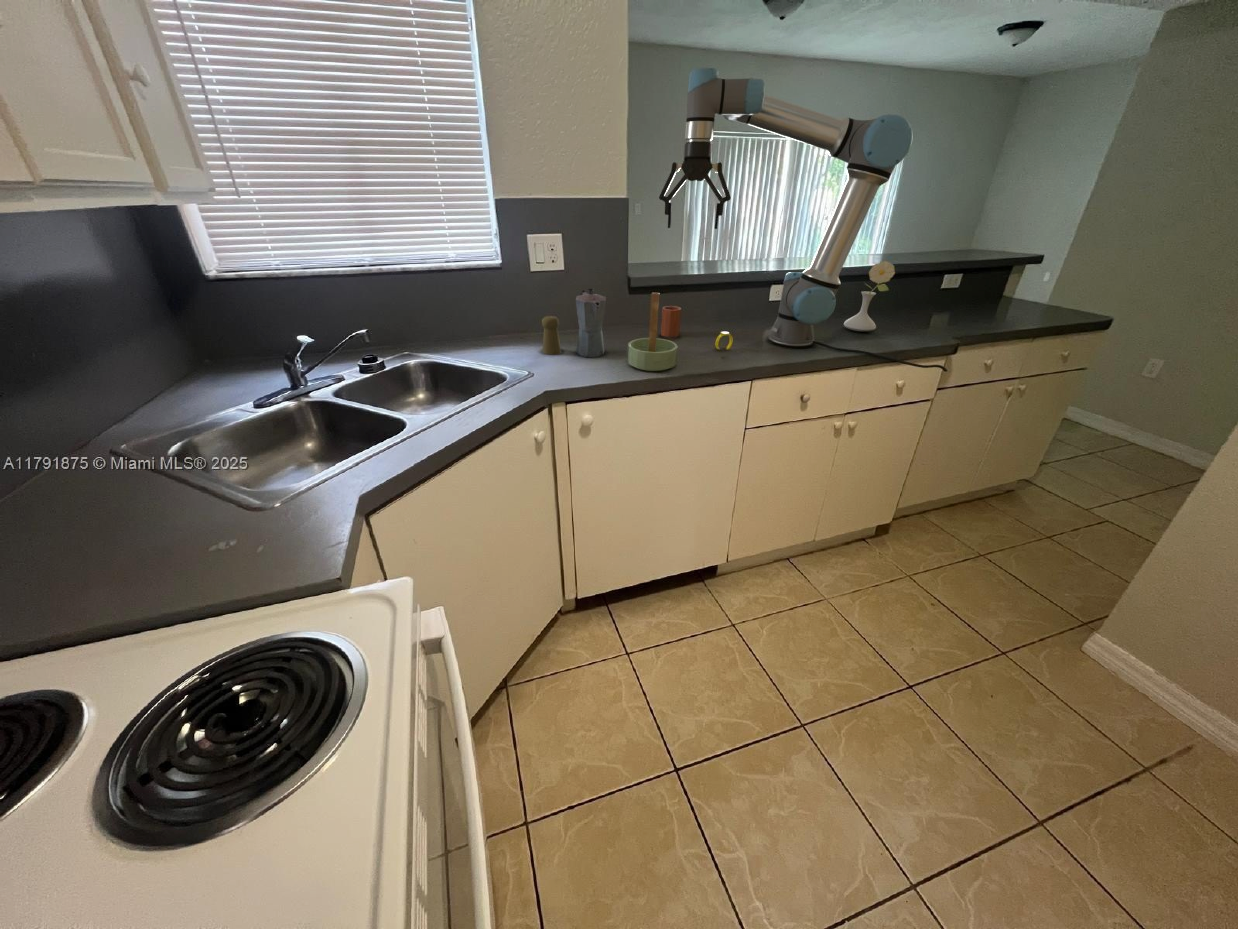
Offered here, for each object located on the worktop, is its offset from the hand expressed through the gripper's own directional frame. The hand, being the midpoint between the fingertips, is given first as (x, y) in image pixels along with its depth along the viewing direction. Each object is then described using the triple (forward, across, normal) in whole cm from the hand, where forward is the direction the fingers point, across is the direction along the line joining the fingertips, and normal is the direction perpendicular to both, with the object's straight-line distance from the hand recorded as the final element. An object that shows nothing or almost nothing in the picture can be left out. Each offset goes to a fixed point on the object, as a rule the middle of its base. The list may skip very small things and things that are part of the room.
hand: (692, 228), depth 143 cm
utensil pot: (+36, +6, -13) cm, 39 cm away
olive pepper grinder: (+36, +42, +13) cm, 56 cm away
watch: (+37, -13, -1) cm, 39 cm away
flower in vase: (+37, -65, -39) cm, 84 cm away
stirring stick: (+35, +9, +18) cm, 41 cm away
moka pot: (+36, +29, +12) cm, 48 cm away
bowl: (+36, +9, +18) cm, 41 cm away
